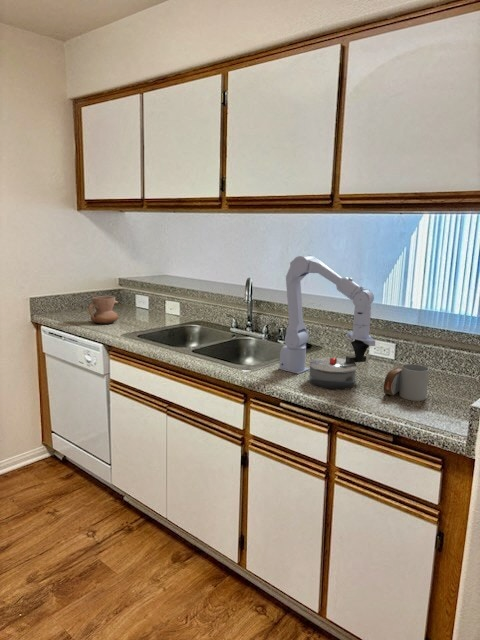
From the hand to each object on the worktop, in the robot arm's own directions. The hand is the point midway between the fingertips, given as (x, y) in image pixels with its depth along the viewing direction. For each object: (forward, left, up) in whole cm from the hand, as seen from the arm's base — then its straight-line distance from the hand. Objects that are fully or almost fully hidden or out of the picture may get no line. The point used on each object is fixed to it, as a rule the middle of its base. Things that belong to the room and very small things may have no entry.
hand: (359, 361), depth 174 cm
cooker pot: (-7, -5, -8) cm, 11 cm away
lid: (-5, -5, -2) cm, 8 cm away
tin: (+14, -1, -8) cm, 17 cm away
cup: (+21, -1, -8) cm, 22 cm away
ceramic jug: (-150, -2, -8) cm, 150 cm away
